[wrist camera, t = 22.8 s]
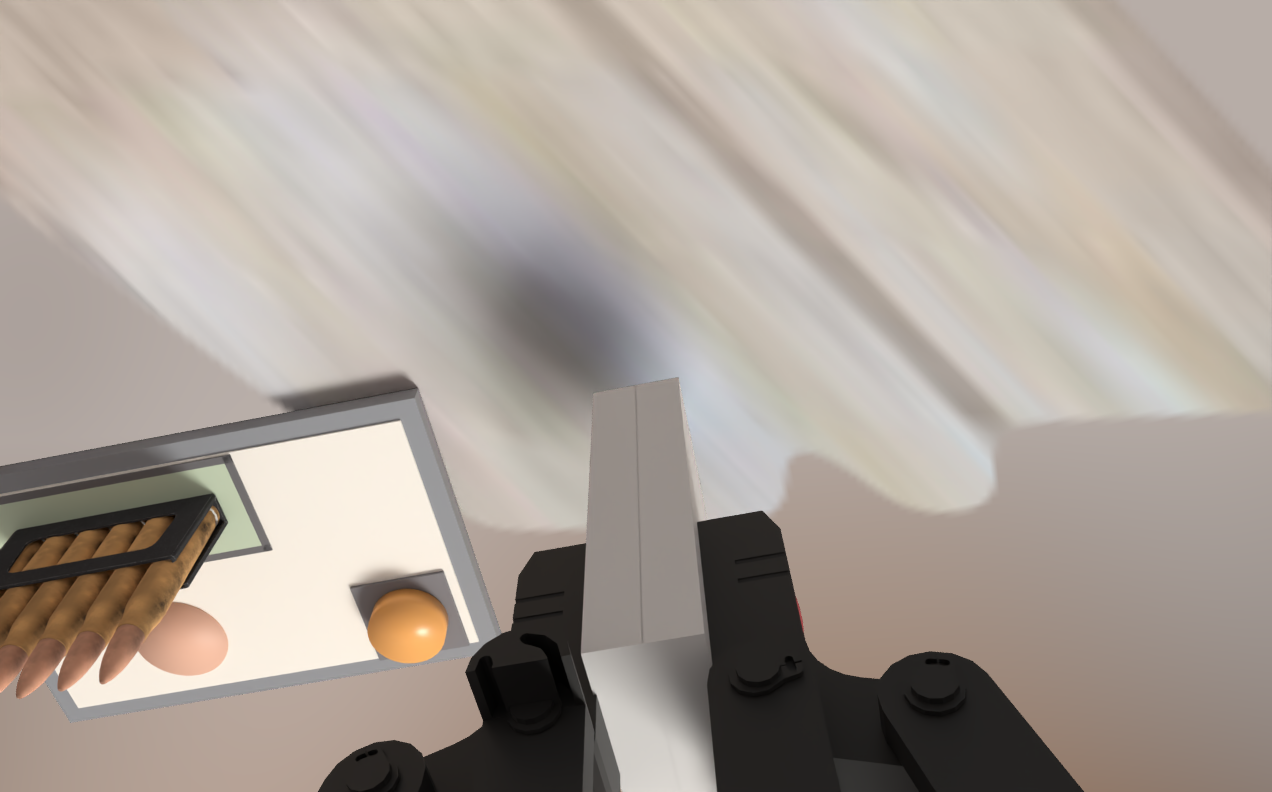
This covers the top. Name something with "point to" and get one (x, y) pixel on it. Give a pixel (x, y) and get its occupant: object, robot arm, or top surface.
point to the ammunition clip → (96, 587)
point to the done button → (408, 626)
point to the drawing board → (274, 548)
